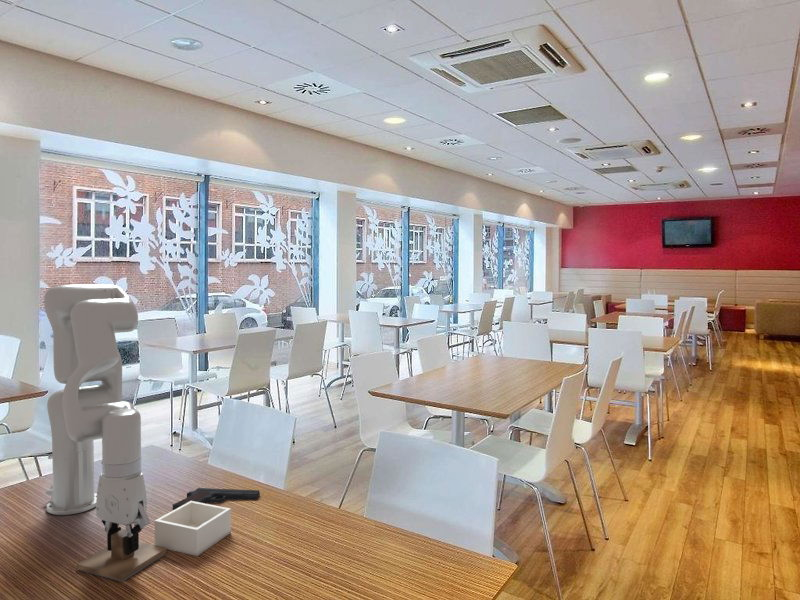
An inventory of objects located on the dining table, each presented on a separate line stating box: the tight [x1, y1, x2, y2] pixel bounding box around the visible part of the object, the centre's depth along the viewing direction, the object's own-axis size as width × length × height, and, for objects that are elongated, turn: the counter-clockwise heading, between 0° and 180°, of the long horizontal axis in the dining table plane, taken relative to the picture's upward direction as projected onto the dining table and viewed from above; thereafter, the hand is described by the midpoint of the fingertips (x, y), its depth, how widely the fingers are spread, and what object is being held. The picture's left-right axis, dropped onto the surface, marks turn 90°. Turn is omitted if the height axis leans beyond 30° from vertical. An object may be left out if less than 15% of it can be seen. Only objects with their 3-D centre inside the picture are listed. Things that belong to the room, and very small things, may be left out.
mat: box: [78, 552, 167, 583], centre depth 123 cm, size 12×12×1 cm
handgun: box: [172, 487, 261, 511], centre depth 154 cm, size 2×20×12 cm
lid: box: [76, 528, 168, 581], centre depth 123 cm, size 12×12×6 cm
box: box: [154, 501, 232, 557], centre depth 133 cm, size 12×12×6 cm
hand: (123, 549), depth 123 cm, fingers open, 4 cm apart
